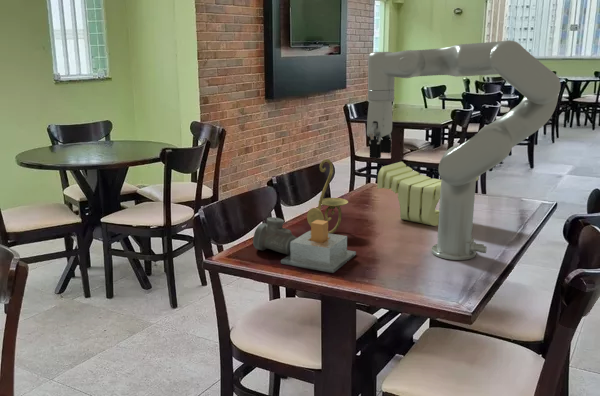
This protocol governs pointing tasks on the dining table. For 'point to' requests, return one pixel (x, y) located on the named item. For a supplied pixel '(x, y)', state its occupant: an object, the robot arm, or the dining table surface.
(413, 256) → the dining table surface
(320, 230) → the orange rectangular block
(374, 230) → the dining table surface
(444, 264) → the dining table surface
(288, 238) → the pipe fitting
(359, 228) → the dining table surface
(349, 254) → the square hole block
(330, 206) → the wall sconce
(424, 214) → the slatted curved stool
